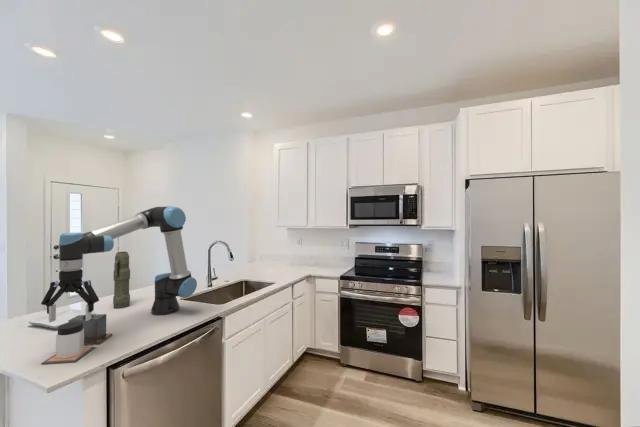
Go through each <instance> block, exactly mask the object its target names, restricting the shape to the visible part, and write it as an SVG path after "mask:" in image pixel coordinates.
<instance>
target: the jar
mask: <svg viewBox="0 0 640 427" xmlns="http://www.w3.org/2000/svg"><path fill="white" fill-rule="evenodd" d="M84 347H85V345H84V328H83V323H82V322H72V323H67V324H63V325H61V326H59V327H58V328H57V334H55V354H56V358H63V359H66V358H70V357H73V356H77V355H79V354H80V353H81V352H82V351H83V350H84Z"/></svg>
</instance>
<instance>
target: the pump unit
mask: <svg viewBox="0 0 640 427" xmlns="http://www.w3.org/2000/svg"><path fill="white" fill-rule="evenodd" d="M85 319H86V315H78V316H76V317H74V318H72V319H70V320H68V323H72V322H82V323H83V328H84V346H95V345H101V344H103V343H104V342H106V341H107V340H108V339H110V338H111V337H112V336H113V333H110V332H109V333H107V313H101V314H97V313H96V315H93V314H92V319H90V320H88V321H85Z"/></svg>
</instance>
